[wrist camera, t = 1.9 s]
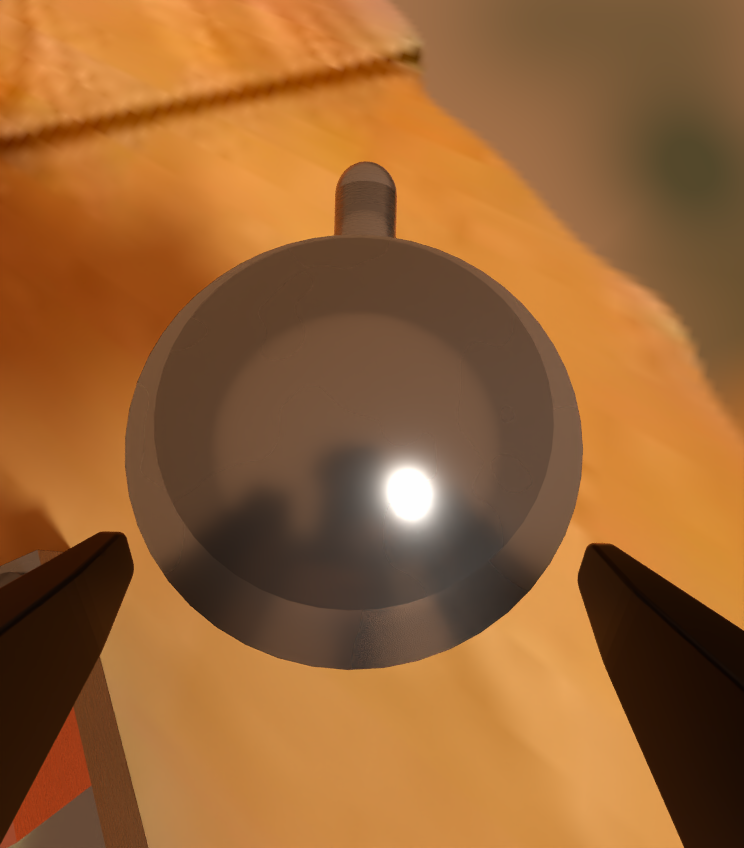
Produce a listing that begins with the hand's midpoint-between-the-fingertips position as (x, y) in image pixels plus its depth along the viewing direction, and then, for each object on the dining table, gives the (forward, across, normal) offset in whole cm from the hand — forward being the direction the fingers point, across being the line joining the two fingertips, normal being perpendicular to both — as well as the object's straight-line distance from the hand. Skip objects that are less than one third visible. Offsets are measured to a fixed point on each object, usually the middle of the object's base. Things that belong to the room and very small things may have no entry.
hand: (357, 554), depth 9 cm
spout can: (+9, 0, +4) cm, 10 cm away
